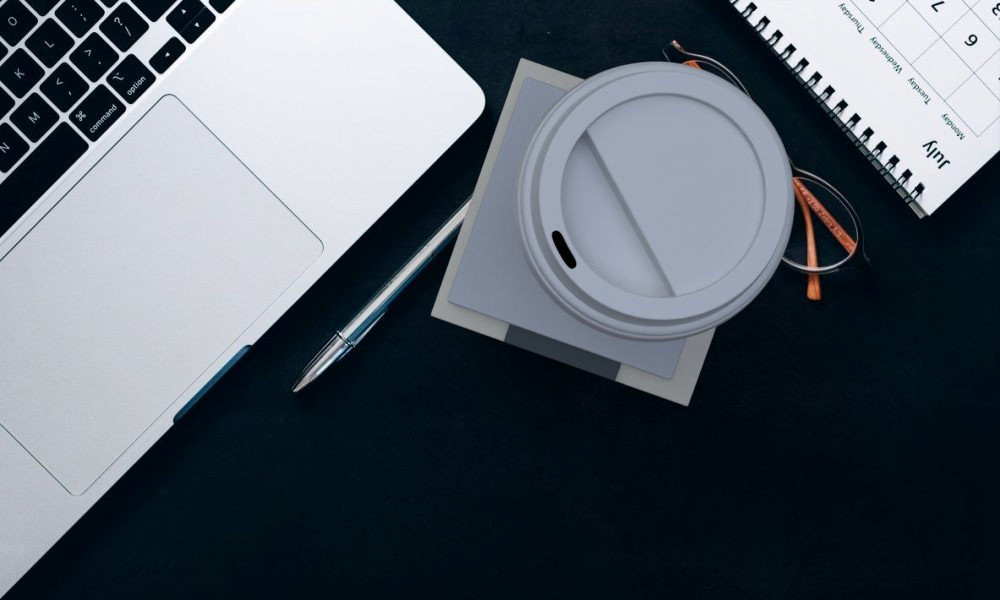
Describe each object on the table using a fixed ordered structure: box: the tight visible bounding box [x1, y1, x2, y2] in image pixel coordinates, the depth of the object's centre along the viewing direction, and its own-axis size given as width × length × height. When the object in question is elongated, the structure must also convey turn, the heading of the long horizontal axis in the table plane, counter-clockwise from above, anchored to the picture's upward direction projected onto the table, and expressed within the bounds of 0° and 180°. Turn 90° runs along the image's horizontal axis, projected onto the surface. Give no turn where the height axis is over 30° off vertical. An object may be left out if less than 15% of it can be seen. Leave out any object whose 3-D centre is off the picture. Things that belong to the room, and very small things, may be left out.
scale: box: [430, 57, 717, 407], centre depth 42 cm, size 14×14×3 cm
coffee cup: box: [513, 61, 796, 342], centre depth 33 cm, size 10×10×15 cm
